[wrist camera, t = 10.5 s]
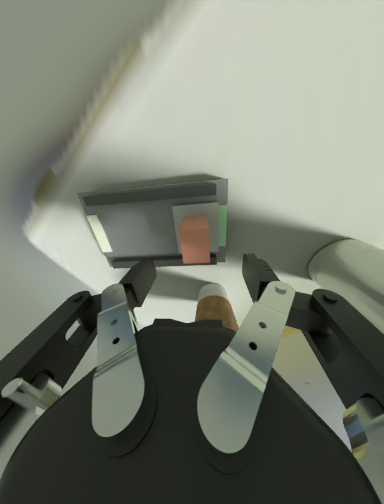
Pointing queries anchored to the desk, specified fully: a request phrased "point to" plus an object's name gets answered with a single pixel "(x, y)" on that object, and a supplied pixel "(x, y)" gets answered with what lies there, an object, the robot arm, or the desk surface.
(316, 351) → the robot arm
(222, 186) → the switch box
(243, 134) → the desk surface
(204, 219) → the handle
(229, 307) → the coffee cup
